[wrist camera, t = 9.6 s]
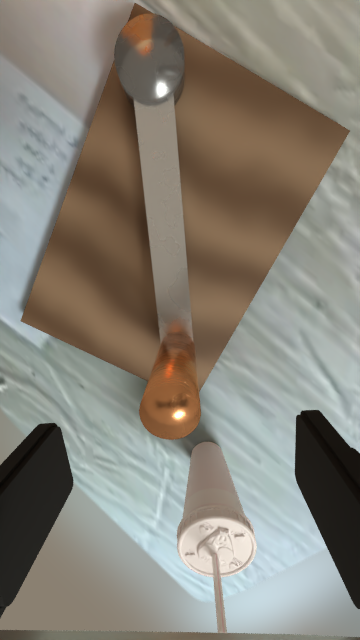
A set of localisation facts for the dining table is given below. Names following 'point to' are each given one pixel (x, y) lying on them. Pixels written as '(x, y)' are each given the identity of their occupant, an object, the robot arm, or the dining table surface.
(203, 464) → the smoothie
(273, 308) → the dining table surface
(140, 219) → the lever base
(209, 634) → the robot arm
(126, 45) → the lever
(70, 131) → the dining table surface
